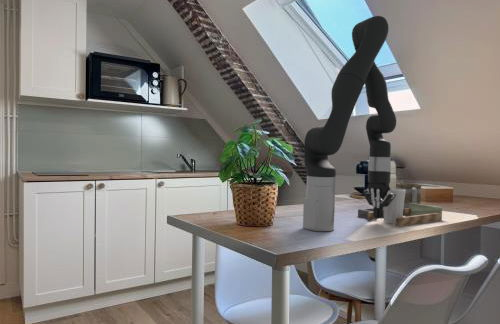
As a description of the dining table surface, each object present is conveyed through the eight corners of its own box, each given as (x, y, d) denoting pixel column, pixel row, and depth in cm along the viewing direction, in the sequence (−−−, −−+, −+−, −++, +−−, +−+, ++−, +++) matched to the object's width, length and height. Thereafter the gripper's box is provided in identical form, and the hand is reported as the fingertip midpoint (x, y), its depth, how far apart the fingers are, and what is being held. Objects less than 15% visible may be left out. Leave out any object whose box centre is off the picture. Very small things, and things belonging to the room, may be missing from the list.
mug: (392, 208, 168) (393, 182, 168) (416, 209, 167) (417, 183, 166) (400, 213, 153) (401, 185, 152) (428, 215, 151) (429, 186, 151)
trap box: (398, 226, 126) (399, 212, 126) (353, 216, 143) (353, 204, 143) (441, 220, 140) (442, 207, 140) (395, 212, 157) (395, 200, 157)
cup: (406, 224, 130) (407, 191, 130) (383, 223, 131) (384, 190, 131) (402, 220, 138) (403, 188, 137) (379, 219, 139) (381, 187, 139)
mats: (374, 218, 139) (374, 218, 139) (362, 216, 144) (362, 216, 144) (404, 215, 149) (404, 214, 149) (392, 213, 154) (392, 212, 154)
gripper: (357, 168, 133) (356, 215, 133) (388, 170, 122) (386, 222, 122) (371, 168, 137) (369, 214, 137) (402, 170, 126) (400, 220, 126)
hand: (377, 218), depth 130 cm, fingers closed
